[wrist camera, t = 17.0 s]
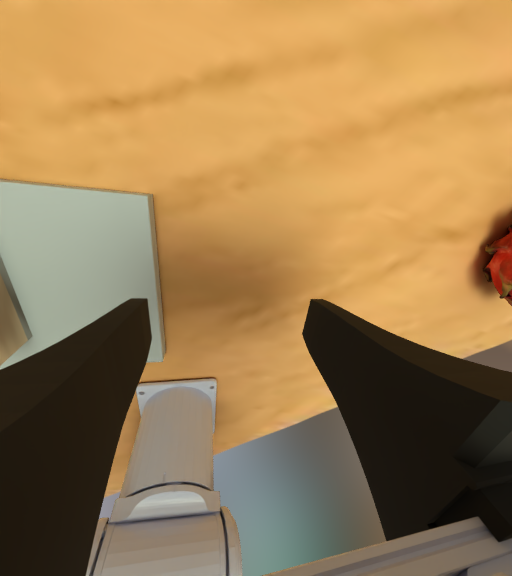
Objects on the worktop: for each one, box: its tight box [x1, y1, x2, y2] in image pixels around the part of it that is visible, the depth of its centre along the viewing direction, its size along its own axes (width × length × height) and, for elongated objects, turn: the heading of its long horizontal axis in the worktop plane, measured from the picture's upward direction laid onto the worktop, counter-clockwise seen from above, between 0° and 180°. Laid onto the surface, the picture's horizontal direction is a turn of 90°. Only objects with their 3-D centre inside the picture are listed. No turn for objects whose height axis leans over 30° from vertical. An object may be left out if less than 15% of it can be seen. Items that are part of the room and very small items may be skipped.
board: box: [0, 179, 166, 370], centre depth 16 cm, size 14×20×2 cm
